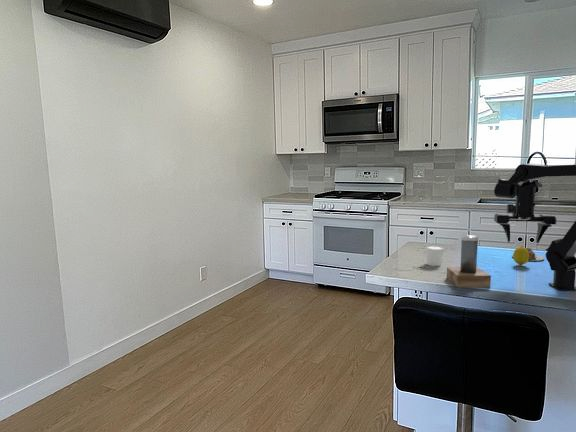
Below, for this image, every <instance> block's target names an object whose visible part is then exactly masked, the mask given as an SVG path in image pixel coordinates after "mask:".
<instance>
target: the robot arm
mask: <svg viewBox="0 0 576 432" xmlns="http://www.w3.org/2000/svg"><path fill="white" fill-rule="evenodd" d="M575 176H576V164H563V165H561V164H559V165H558V164H557V165H545V164H539V163H521V164H518V165H517V167H516V168H515V172H514V173H513V174H512V175H511V176H510V178H509V179H505V178H498V180H497V181H498V182H496V184H495V187H494V189H493V192H494V196H495V197H497V198H503V199H514V198H515V199H516V201H515V205H514V204H512V203H511V204H510V203H509V204H508V203H507V205H506V213H495V214H494V218H493V220H494V221H493V222H495V223H497V224H498V225H500V226H501V227H502V229H503V231H504V234H505V236H506V240H507V243H510V242H511V224H510V223H509V222H535V223H536V222H537V232H536V238H535V239H536V240H535V243H536V244H539V242H540V241H541V239H542V237H543V236H544V234H545V233H546V231H547V229H548V228H552V227H553V225H557V217H556V216H555V215H553V214H546V213H544V214H542V213H540V214H539V215H538V216H535V206H536V202H535V201H536V188H542V187H543V184H542V183H540V182H539V180H538V179H542V178H548V177H549V178H550V177H575ZM520 183H521V184H520ZM509 214H512V215H509ZM545 251H546V252H545V259H546V261H547V262H548V264H549V267H550V270H551V271H552V272H553V281H552V282H549V283H548V285H549V286H551V287H553V288H555V289H556V290H559V291H576V285H575V284H576V256H575V255H576V220H575V221H574V222H573V224H572V225H571V226H570V228H569V229H568V231H566V233H565V235H564V236H563V237H562V238H558V239H554V240H552V241H551V242H550V244H549V246H548V248H546V249H545Z"/></svg>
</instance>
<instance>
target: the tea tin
mask: <svg viewBox="0 0 576 432" xmlns="http://www.w3.org/2000/svg"><path fill="white" fill-rule="evenodd" d="M478 241H479V236H477V235H472V234H464V235H463V234H462V235H461V247H460V249H461V250H460V266H459V267H460V271H461V272H463V273H476V269H477V267H478V266H477V263H478V246H479V245H478Z"/></svg>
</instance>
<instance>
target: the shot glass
mask: <svg viewBox="0 0 576 432" xmlns="http://www.w3.org/2000/svg"><path fill="white" fill-rule="evenodd" d="M425 251H426V264H427V265H428V266H433V267H440V266H442V262H443V255H444V247H442V246H436V245H435V246H434V245H429V246H428V245H427V246H426V247H425Z"/></svg>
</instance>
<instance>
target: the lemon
mask: <svg viewBox="0 0 576 432" xmlns="http://www.w3.org/2000/svg"><path fill="white" fill-rule="evenodd" d="M526 248H527V247H524V246H522V245H521V246H519V247H516V248H515V250H514V251H513V254H512V255H513V256H512V257H513V260H514V263H516V264H518V265H519V266H520V267H522V266H523V265H526V263H528V262H529V261H528V260H529V252H528V250H527V249H526Z"/></svg>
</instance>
